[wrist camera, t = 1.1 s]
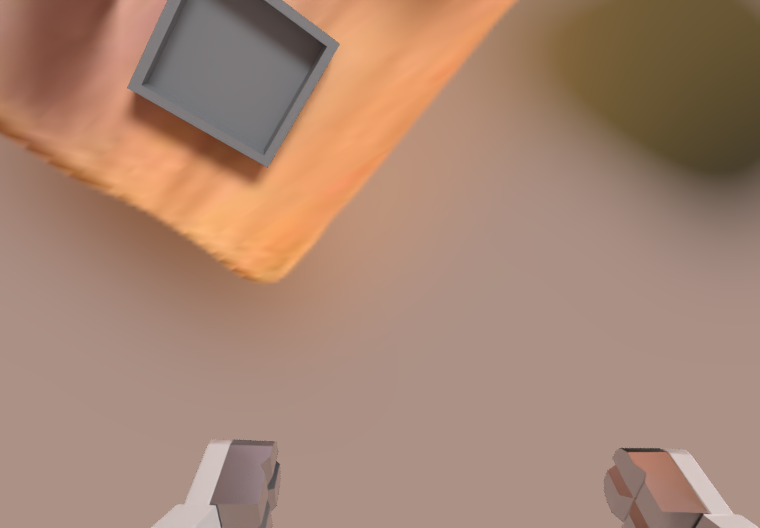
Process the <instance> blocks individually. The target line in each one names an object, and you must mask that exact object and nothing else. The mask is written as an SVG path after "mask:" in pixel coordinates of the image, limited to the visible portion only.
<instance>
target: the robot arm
mask: <svg viewBox="0 0 760 528" xmlns="http://www.w3.org/2000/svg"><path fill="white" fill-rule="evenodd" d="M277 455H278V447H277V442H273V441H252V440H227V439H212V440H211V441H210V443H209V444H208V445H207V447H206V450H205V452H204V455H203V457H202V460H201V463H200V465H199V467H198V470H197V472H196V475H195V477H194V480H193V482H192V485H191V487H190V490H189V492H188V494H187V497H186V499H185V502H184V504H177V505H176V506H175V507H173V508H172V509H171V510H170V511H169V512H168V513H167V514H166V515H164V516H163V517H162V518H161V519H160V520H159V521H158V522H157V523H156V524H154V525H153V526H152V527H151V528H272V518H271V511H272V510H273V509H274V508H275V507H276V506H277V500H278V495H279V488H280V464H279V463H278V462H277V461H276V459H277ZM613 460H614V462H615V464H616V465H615V466H613V467H612V468H610V469H609V470H608V471H607V473H606V476H605V479H604V492H605V496H606V500H607V503H608V505H609V507H610V509H611V512H612V513H613V514H614V515H615V516H617V517H618V518H619V519H620V520H621V521H622V522H623V524H622V528H758V527H757V526H755V525H754V524H753V523H751V522H750V521H749V520H747V519H746V518H744V517H743V516H741V515H734V514H733V513H732V511H731V510H730V508H729V507H728V506H727V504H726V503H725V501H724V500H723V499H722V497H721V496H720V494H719V493H718V492H717V490H716V489H715V487H714V486H713V485H712V483H711V482H710V481H709V479H708V478H707V477H706V475H705V474H704V472H703V471H702V469H701V468H700V467H699V466H698V464H697V463H696V461H695V460H694V459H693V457H692V456H691V454H690V453H688V452H687V451H686V450H684V449H659V448H620V449H618V450H617V451H616V452H615V454H614V456H613Z"/></svg>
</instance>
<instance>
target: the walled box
mask: <svg viewBox="0 0 760 528" xmlns="http://www.w3.org/2000/svg"><path fill="white" fill-rule="evenodd" d="M339 45H340V44H339V43H338V42H337V41H335V40H334V39H333V38H331V37H330V36H329V35H327V34H326V33H325V32H323V31H322V30H321V29H320V28H318V27H317V26H316V25H314V24H313V23H312V22H310V21H309V20H308V19H306V18H305V17H304V16H302V15H301V14H300V13H298V12H297V11H296V10H294V9H293V8H292V7H290V6H289V5H288V4H286V3H285V2H284V1H282V0H167V3H166V5H165V7H164V9H163V11H162V13H161V16H160V18H159V20H158V22H157V24H156V26H155V29H154V31H153V33H152V35H151V37H150V39H149V42H148V44H147V46H146V48H145V50H144V52H143V55H142V57H141V59H140V61H139V63H138V65H137V68H136V70H135V72H134V74H133V76H132V78H131V81H130V83H129V85H128V87H127V88H128V89H130V90H132V91H133V92H135V93H137V94H139V95H140V96H142V97H144V98H146V99H147V100H149V101H151V102H153V103H154V104H156V105H158V106H160V107H162V108H163V109H165V110H167V111H169V112H170V113H172V114H174V115H176V116H177V117H179V118H181V119H183V120H184V121H186V122H188V123H190V124H191V125H193V126H195V127H197V128H199V129H200V130H202V131H204V132H206V133H207V134H209V135H211V136H213V137H214V138H216V139H218V140H220V141H221V142H223V143H225V144H227V145H228V146H230V147H232V148H234V149H236V150H237V151H239V152H241V153H243V154H244V155H246V156H248V157H250V158H251V159H253V160H255V161H257V162H258V163H260V164H262V165H264V166H266V167H267V168H268V166H269V165H270V163H271V161H272V160H273V158H274V156H275V154H276V153H277V151H278V149H279V148H280V146H281V144H282V142H283V141H284V139H285V137H286V136H287V134H288V132H289V130H290V129H291V127H292V125H293V124H294V122H295V120H296V118H297V117H298V115H299V113H300V112H301V110H302V108H303V106H304V105H305V103H306V101H307V100H308V98H309V96H310V94H311V93H312V91H313V89H314V88H315V86H316V84H317V82H318V81H319V79H320V77H321V76H322V74H323V72H324V70H325V69H326V67H327V65H328V64H329V62H330V60H331V58H332V57H333V55H334V53H335V52H336V50H337V48H338V46H339Z"/></svg>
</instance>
